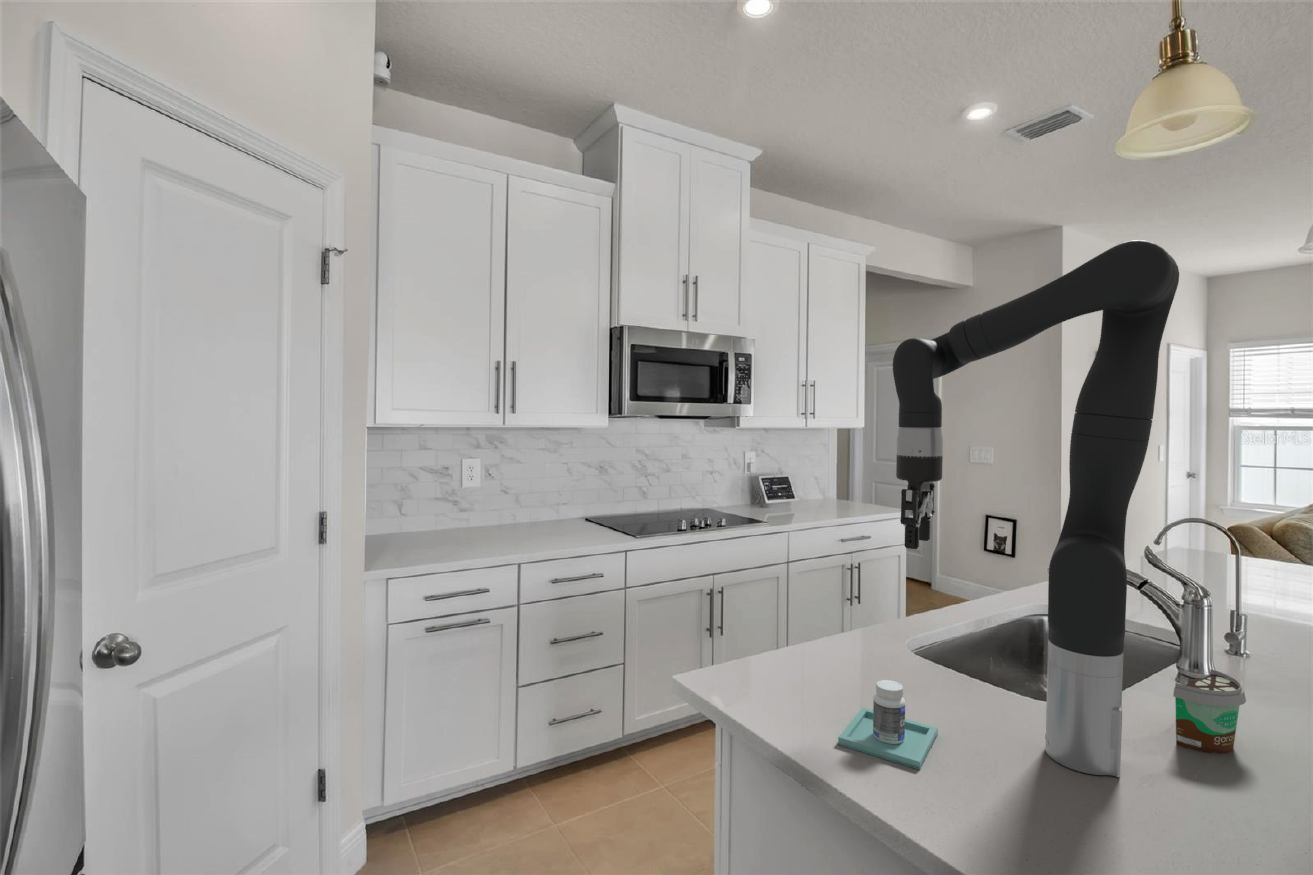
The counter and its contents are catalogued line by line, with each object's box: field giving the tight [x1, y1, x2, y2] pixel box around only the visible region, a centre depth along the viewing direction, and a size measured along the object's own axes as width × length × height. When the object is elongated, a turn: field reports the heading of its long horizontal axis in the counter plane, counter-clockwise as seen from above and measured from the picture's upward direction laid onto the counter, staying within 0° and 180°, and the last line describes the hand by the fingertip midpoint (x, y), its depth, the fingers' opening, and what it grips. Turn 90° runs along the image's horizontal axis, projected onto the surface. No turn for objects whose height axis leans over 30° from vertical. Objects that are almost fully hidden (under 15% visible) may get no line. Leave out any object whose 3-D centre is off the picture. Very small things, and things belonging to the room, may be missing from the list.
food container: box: [1172, 668, 1247, 755], centre depth 98 cm, size 12×6×10 cm, turn 117°
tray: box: [837, 706, 939, 771], centre depth 100 cm, size 12×12×1 cm
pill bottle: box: [872, 679, 906, 744], centre depth 100 cm, size 5×5×8 cm
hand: (917, 544), depth 112 cm, fingers open, 8 cm apart
